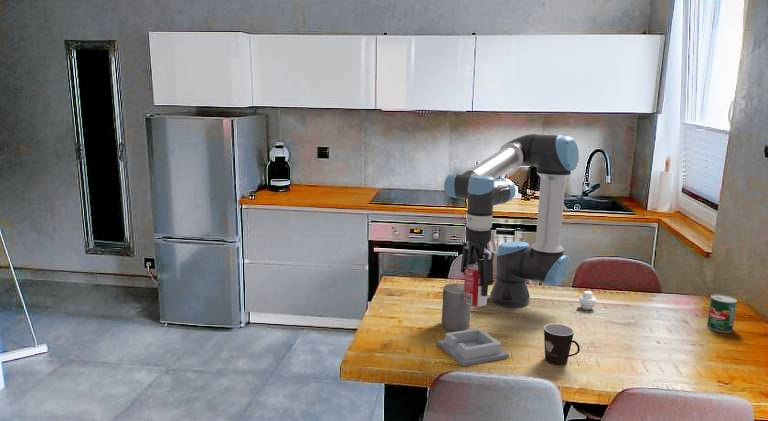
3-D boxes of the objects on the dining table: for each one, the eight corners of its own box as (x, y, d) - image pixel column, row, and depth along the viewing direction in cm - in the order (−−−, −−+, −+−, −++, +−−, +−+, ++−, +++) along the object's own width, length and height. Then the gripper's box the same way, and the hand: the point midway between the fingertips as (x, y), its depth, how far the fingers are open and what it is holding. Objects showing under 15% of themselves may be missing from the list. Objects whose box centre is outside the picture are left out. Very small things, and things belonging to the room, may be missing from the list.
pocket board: (480, 336, 185) (481, 325, 184) (508, 357, 171) (509, 344, 170) (437, 344, 179) (437, 332, 178) (463, 366, 165) (463, 353, 164)
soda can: (488, 301, 174) (490, 264, 171) (484, 309, 167) (486, 271, 165) (465, 298, 176) (467, 262, 174) (461, 306, 170) (462, 268, 167)
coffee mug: (537, 354, 173) (539, 324, 171) (564, 353, 174) (567, 323, 172) (551, 372, 162) (554, 340, 160) (580, 371, 163) (583, 339, 161)
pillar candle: (440, 319, 199) (442, 279, 196) (468, 320, 199) (470, 280, 195) (442, 331, 189) (444, 289, 186) (471, 332, 189) (473, 289, 186)
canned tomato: (731, 326, 198) (735, 296, 196) (734, 334, 191) (739, 303, 189) (705, 322, 201) (709, 292, 199) (707, 330, 194) (711, 299, 192)
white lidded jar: (597, 311, 209) (599, 293, 208) (581, 311, 209) (582, 293, 208) (592, 305, 215) (593, 288, 214) (576, 305, 215) (577, 287, 214)
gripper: (451, 221, 175) (448, 291, 179) (486, 236, 156) (482, 314, 161) (472, 220, 177) (468, 289, 182) (509, 234, 159) (504, 310, 164)
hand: (475, 300), depth 172 cm, fingers closed on soda can, 7 cm apart
